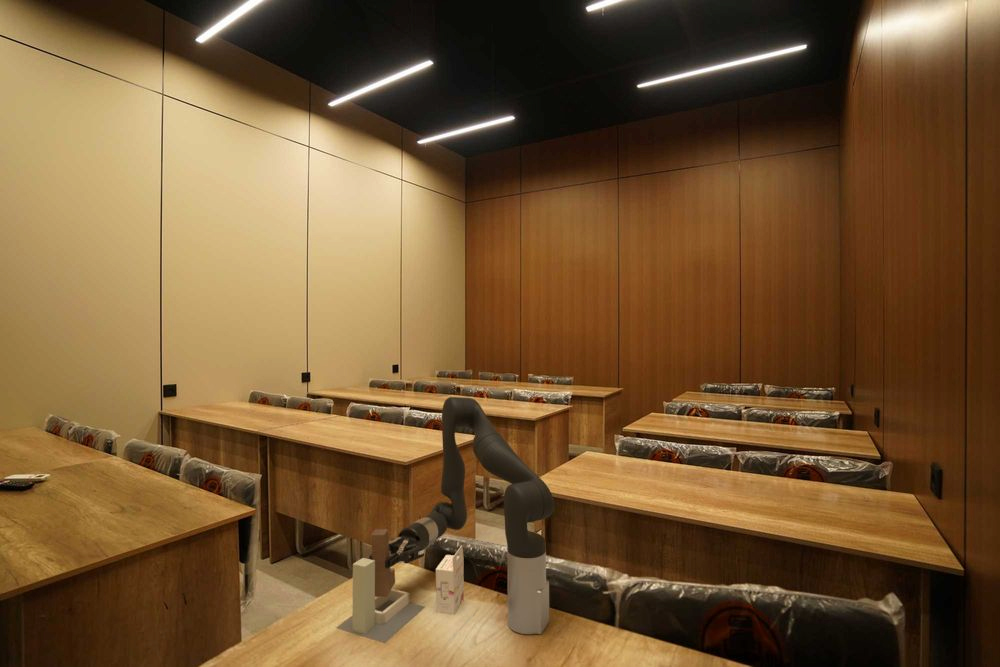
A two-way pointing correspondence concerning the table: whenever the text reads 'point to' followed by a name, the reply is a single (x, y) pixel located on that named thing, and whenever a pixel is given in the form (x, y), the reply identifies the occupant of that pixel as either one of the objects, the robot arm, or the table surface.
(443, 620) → the table surface
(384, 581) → the wooden block
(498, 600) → the table surface
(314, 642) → the table surface
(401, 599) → the base plate
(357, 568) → the sage pillar
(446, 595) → the ink cartridge box
